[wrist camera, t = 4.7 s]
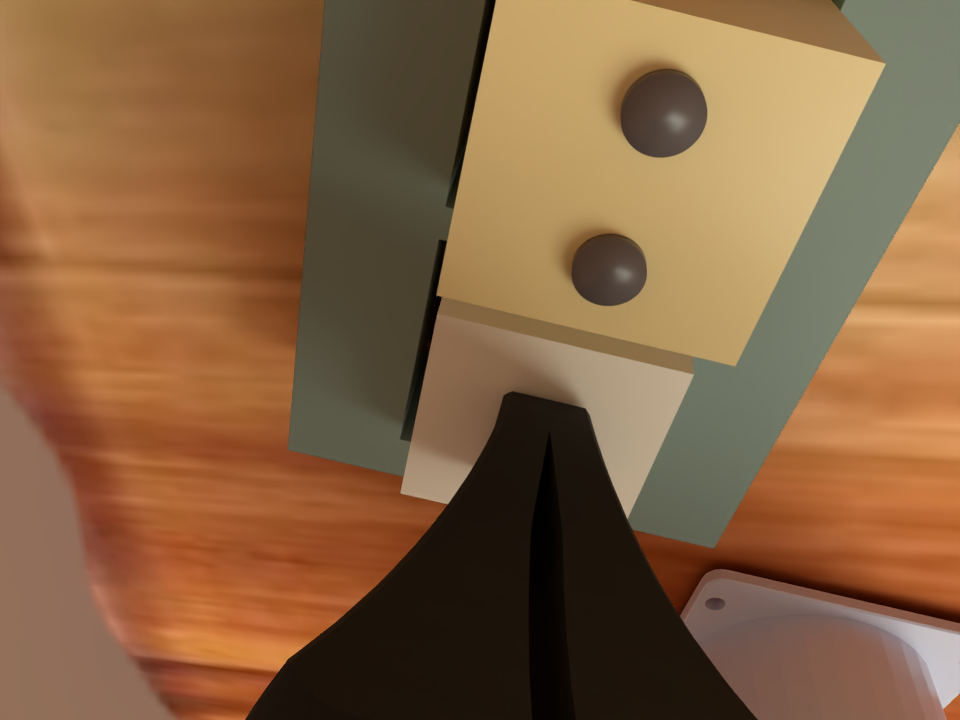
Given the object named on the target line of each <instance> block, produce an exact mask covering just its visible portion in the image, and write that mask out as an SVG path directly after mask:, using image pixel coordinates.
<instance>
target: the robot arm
mask: <svg viewBox="0 0 960 720" xmlns="http://www.w3.org/2000/svg"><path fill="white" fill-rule="evenodd" d="M959 693H960V623H956V622H952V621H947V620H943V619H939V618H934V617H930V616H926V615H921V614H917V613H913V612H908V611H904V610H900V609H895V608H891V607H887V606H882V605H878V604H874V603H870V602H865V601H861V600H857V599H852V598H848V597H844V596H839V595H835V594H831V593H826V592H822V591H818V590H813V589H809V588H805V587H800V586H796V585H792V584H787V583H783V582H779V581H774V580H770V579H766V578H761V577H757V576H753V575H748V574H744V573H740V572H735V571H731V570H726V569H716V570H712V571H710V572H708V573H706V574H705V575H704V576H703V577H702V579H701V581H700V582H699V584H698V586H697V588H696V589H695V591H694V593H693V594H692V596H691V598H690V600H689V601H688V603H687V605H686V606H685V608H684V610H683V612H682V613H681V615H680V616H679V614H678V613H677V611H676V610H675V608H674V606H673V605H672V603H671V601H670V600H669V598H668V596H667V595H666V593H665V591H664V590H663V588H662V586H661V584H660V583H659V581H658V579H657V577H656V575H655V574H654V572H653V570H652V568H651V566H650V564H649V562H648V561H647V559H646V557H645V555H644V553H643V551H642V549H641V547H640V545H639V543H638V541H637V539H636V537H635V535H634V532H633V530H632V528H631V526H630V524H629V521H628V519H627V517H626V515H625V512H624V510H623V508H622V505H621V503H620V500H619V498H618V496H617V493H616V491H615V488H614V486H613V484H612V481H611V478H610V476H609V473H608V470H607V468H606V465H605V462H604V459H603V456H602V453H601V450H600V447H599V444H598V441H597V438H596V435H595V432H594V428H593V425H592V421H591V417H590V415H589V413H588V411H587V410H586V408H582V407H578V406H574V405H570V404H565V403H561V402H557V401H552V400H548V399H544V398H540V397H535V396H531V395H527V394H523V393H518V392H514V391H511V392H509V393H507V394H504V396H503V399H502V403H501V406H500V410H499V413H498V417H497V420H496V423H495V427H494V429H493V431H492V433H491V435H490V437H489V439H488V441H487V443H486V445H485V447H484V449H483V450H482V452H481V454H480V456H479V457H478V459H477V461H476V462H475V464H474V466H473V468H472V469H471V471H470V473H469V474H468V476H467V477H466V479H465V480H464V482H463V483H462V485H461V486H460V488H459V489H458V490H457V492H456V493H455V495H454V496H453V498H452V499H451V500H450V502H449V503H448V505H447V506H446V508H445V509H444V510H443V512H442V513H441V514H440V515H439V517H438V518H437V519H436V521H435V522H434V523H433V524H432V526H431V527H430V528H429V529H428V531H427V532H426V533H425V534H424V535H423V536H422V538H421V539H420V540H419V541H418V542H417V544H416V545H415V546H414V547H413V548H412V549H411V550H410V551H409V552H408V554H407V555H406V556H405V557H404V558H403V559H402V560H401V561H400V562H399V563H398V564H397V565H396V566H395V567H394V569H393V570H392V571H391V572H390V573H389V574H388V575H387V576H386V577H385V578H384V579H383V580H382V581H381V582H380V583H379V584H378V585H377V586H376V587H375V588H373V589H372V590H371V591H370V592H369V593H368V594H367V595H366V596H365V597H364V598H362V599H361V600H360V601H359V602H358V603H357V604H356V605H355V606H354V607H352V608H351V609H350V610H349V611H348V612H347V613H346V614H345V615H344V616H342V617H341V618H340V619H339V620H338V621H337V622H335V623H334V624H333V625H332V626H331V627H329V628H328V629H327V630H325V631H324V632H323V633H322V634H320V635H319V636H318V637H316V638H315V639H314V640H312V641H311V642H310V643H309V644H307V645H306V646H305V647H303V648H302V649H301V650H299V651H298V652H297V653H296V654H294V655H293V656H292V657H290V658H289V659H288V660H287V661H286V663H285V664H284V666H283V667H282V668H281V669H280V671H279V672H278V673H277V675H276V676H275V677H274V679H273V680H272V681H271V683H270V684H269V685H268V687H267V688H266V689H265V691H264V692H263V694H262V695H261V697H260V698H259V699H258V701H257V702H256V704H255V705H254V707H253V708H252V710H251V711H250V713H249V715H248V716H247V718H246V720H947V719H946V716H945V713H944V711H943V709H944V708H945V707H946V706H947V705H948V704H949V703H950V702H951V701H952V700H953V699H954V698H955V697H956V696H957V695H958V694H959Z"/></svg>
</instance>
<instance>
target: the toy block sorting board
mask: <svg viewBox="0 0 960 720" xmlns="http://www.w3.org/2000/svg"><path fill="white" fill-rule="evenodd" d="M831 1H832V2H833V3H834V4H835V5H836V6H837V8H838V9H839V10H840V11H841V12H842V13H843V15H844V16H845V17H846V18H847V19H848V20H849V21H850V23H851V24H852V25H853V26H854V27H855V28H856V30H857V31H858V32H859V33H860V34H861V35H862V36H863V38H864V39H865V40H866V41H867V42H868V43H869V45H870V46H871V47H872V48H873V49H874V50H875V51H876V53H877V54H878V55H879V56H880V57H881V58H882V60H883V61H884V62H885V63H886V65H885V67H884V69H883V71H882V73H881V75H880V77H879V79H878V81H877V83H876V85H875V87H874V89H873V91H872V93H871V95H870V97H869V99H868V101H867V103H866V105H865V107H864V109H863V111H862V113H861V115H860V117H859V119H858V121H857V123H856V125H855V127H854V129H853V131H852V133H851V135H850V137H849V139H848V141H847V143H846V145H845V147H844V149H843V151H842V153H841V155H840V157H839V159H838V161H837V163H836V165H835V167H834V169H833V171H832V173H831V175H830V177H829V179H828V181H827V183H826V185H825V187H824V189H823V191H822V193H821V195H820V197H819V199H818V201H817V203H816V205H815V207H814V209H813V211H812V213H811V215H810V217H809V220H808V222H807V224H806V226H805V228H804V230H803V232H802V234H801V236H800V238H799V240H798V242H797V244H796V246H795V248H794V250H793V252H792V254H791V256H790V258H789V260H788V262H787V264H786V266H785V268H784V270H783V272H782V274H781V276H780V278H779V280H778V282H777V284H776V286H775V288H774V290H773V292H772V294H771V296H770V298H769V300H768V302H767V304H766V306H765V308H764V310H763V312H762V314H761V316H760V318H759V320H758V322H757V324H756V326H755V328H754V330H753V332H752V334H751V336H750V338H749V340H748V342H747V344H746V346H745V348H744V350H743V352H742V354H741V356H740V358H739V360H738V362H737V364H736V366H731V365H727V364H723V363H719V362H714V361H710V360H706V359H702V358H698V357H693V356H692V362H693V370H694V376H693V378H692V381H691V383H690V385H689V387H688V389H687V391H686V394H685V396H684V398H683V400H682V402H681V404H680V406H679V409H678V411H677V413H676V415H675V417H674V419H673V422H672V424H671V426H670V428H669V430H668V432H667V435H666V437H665V439H664V441H663V443H662V445H661V448H660V450H659V452H658V454H657V456H656V458H655V461H654V463H653V465H652V467H651V469H650V471H649V473H648V476H647V478H646V480H645V482H644V484H643V486H642V489H641V491H640V493H639V495H638V497H637V499H636V502H635V504H634V506H633V508H632V510H631V512H630V515H629V517H628V521H629V524H630V526H631V528H632V530H635V531H640V532H644V533H648V534H653V535H657V536H661V537H666V538H670V539H674V540H679V541H683V542H687V543H691V544H696V545H700V546H704V547H709V548H713V549H714V548H715V546H716V544H717V542H718V541H719V539H720V537H721V536H722V534H723V532H724V530H725V529H726V527H727V525H728V523H729V522H730V520H731V518H732V516H733V515H734V513H735V511H736V510H737V508H738V506H739V504H740V503H741V501H742V499H743V497H744V496H745V494H746V492H747V490H748V489H749V487H750V485H751V484H752V482H753V480H754V478H755V477H756V475H757V473H758V471H759V470H760V468H761V466H762V464H763V463H764V461H765V459H766V457H767V456H768V454H769V452H770V451H771V449H772V447H773V445H774V444H775V442H776V440H777V438H778V437H779V435H780V433H781V431H782V430H783V428H784V426H785V425H786V423H787V421H788V419H789V418H790V416H791V414H792V412H793V411H794V409H795V407H796V405H797V404H798V402H799V400H800V399H801V397H802V395H803V393H804V392H805V390H806V388H807V386H808V385H809V383H810V381H811V379H812V378H813V376H814V374H815V373H816V371H817V369H818V367H819V366H820V364H821V362H822V360H823V359H824V357H825V355H826V353H827V352H828V350H829V348H830V346H831V345H832V343H833V341H834V340H835V338H836V336H837V334H838V333H839V331H840V329H841V327H842V326H843V324H844V322H845V320H846V319H847V317H848V315H849V314H850V312H851V310H852V308H853V307H854V305H855V303H856V301H857V300H858V298H859V296H860V294H861V293H862V291H863V289H864V288H865V286H866V284H867V282H868V281H869V279H870V277H871V275H872V274H873V272H874V270H875V268H876V267H877V265H878V263H879V262H880V260H881V258H882V256H883V255H884V253H885V251H886V249H887V248H888V246H889V244H890V242H891V241H892V239H893V237H894V235H895V234H896V232H897V230H898V229H899V227H900V225H901V223H902V222H903V220H904V218H905V216H906V215H907V213H908V211H909V209H910V208H911V206H912V204H913V203H914V201H915V199H916V197H917V196H918V194H919V192H920V190H921V189H922V187H923V185H924V183H925V182H926V180H927V178H928V177H929V175H930V173H931V171H932V170H933V168H934V166H935V164H936V163H937V161H938V159H939V157H940V156H941V154H942V152H943V151H944V149H945V147H946V145H947V144H948V142H949V140H950V138H951V137H952V135H953V133H954V131H955V130H956V128H957V126H958V124H959V123H960V0H831ZM495 3H496V0H325V6H324V18H323V30H322V42H321V54H320V67H319V79H318V91H317V103H316V115H315V127H314V139H313V151H312V163H311V175H310V188H309V200H308V212H307V224H306V236H305V248H304V260H303V272H302V284H301V297H300V309H299V321H298V333H297V345H296V357H295V369H294V381H293V393H292V405H291V418H290V430H289V442H288V450H290V451H294V452H299V453H303V454H307V455H312V456H316V457H320V458H325V459H329V460H333V461H338V462H342V463H346V464H350V465H355V466H359V467H363V468H368V469H372V470H376V471H381V472H385V473H389V474H394V475H398V476H402V477H404V473H405V468H406V463H407V458H408V453H409V449H410V444H411V439H412V434H413V429H414V424H415V420H416V415H417V410H418V405H419V400H420V395H421V391H422V386H423V381H424V376H425V371H426V366H427V361H428V357H429V351H426V347H427V342H428V338H429V333H430V328H431V323H432V318H433V313H434V308H435V303H436V298H437V296H436V295H437V290H438V285H439V280H440V275H441V270H442V265H443V260H444V255H445V250H446V245H447V240H448V235H449V230H450V225H451V221H452V216H453V211H454V206H455V201H456V196H457V191H458V186H459V181H460V176H461V171H462V166H463V161H464V156H465V151H466V146H467V142H468V137H469V132H470V127H471V122H472V117H473V112H474V107H475V102H476V97H477V92H478V87H479V82H480V77H481V72H482V67H483V63H484V58H485V53H486V48H487V43H488V38H489V33H490V28H491V23H492V18H493V13H494V8H495Z"/></svg>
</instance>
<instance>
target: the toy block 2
mask: <svg viewBox="0 0 960 720" xmlns="http://www.w3.org/2000/svg"><path fill="white" fill-rule="evenodd" d="M693 376H694V370H693V362H692V356H689V355H685V354H681V353H677V352H672V351H668V350H664V349H660V348H655V347H651V346H647V345H643V344H639V343H634V342H630V341H626V340H622V339H618V338H613V337H609V336H605V335H601V334H596V333H592V332H588V331H584V330H580V329H575V328H571V327H567V326H563V325H559V324H554V323H550V322H546V321H542V320H538V319H533V318H529V317H525V316H521V315H516V314H512V313H508V312H504V311H500V310H495V309H491V308H487V307H483V306H479V305H474V304H470V303H466V302H462V301H457V300H453V299H449V298H445V297H442V300H441V303H440V306H439V310H438V313H437V318H436V323H435V328H434V332H433V337H432V342H431V347H430V352H429V357H428V361H427V366H426V371H425V376H424V381H423V386H422V391H421V395H420V400H419V405H418V410H417V415H416V420H415V424H414V429H413V434H412V439H411V444H410V449H409V453H408V458H407V463H406V468H405V473H404V478H403V482H402V487H401V492H400V493H401V494H405V495H409V496H414V497H418V498H422V499H427V500H431V501H435V502H440V503H444V504H448V503H449V502H450V500H451V499H452V498H453V496H454V495H455V493H456V492H457V490H458V489H459V488H460V486H461V485H462V483H463V482H464V480H465V479H466V477H467V476H468V474H469V473H470V471H471V469H472V468H473V466H474V464H475V462H476V461H477V459H478V457H479V456H480V454H481V452H482V450H483V449H484V447H485V445H486V443H487V441H488V439H489V437H490V435H491V433H492V431H493V429H494V427H495V423H496V420H497V417H498V413H499V410H500V406H501V403H502V399H503V396H504V394H507V393H509V392H511V391H514V392H518V393H523V394H527V395H531V396H535V397H540V398H544V399H548V400H552V401H557V402H561V403H565V404H570V405H574V406H578V407H582V408H586V410H587V411H588V413H589V415H590V417H591V421H592V425H593V428H594V432H595V435H596V438H597V441H598V444H599V447H600V450H601V453H602V456H603V459H604V462H605V465H606V468H607V470H608V473H609V476H610V478H611V481H612V484H613V486H614V488H615V491H616V493H617V496H618V498H619V500H620V503H621V505H622V508H623V510H624V512H625V515H626V517H627V519H628V517H629V515H630V512H631V510H632V508H633V506H634V504H635V502H636V499H637V497H638V495H639V493H640V491H641V489H642V486H643V484H644V482H645V480H646V478H647V476H648V473H649V471H650V469H651V467H652V465H653V463H654V461H655V458H656V456H657V454H658V452H659V450H660V448H661V445H662V443H663V441H664V439H665V437H666V435H667V432H668V430H669V428H670V426H671V424H672V422H673V419H674V417H675V415H676V413H677V411H678V409H679V406H680V404H681V402H682V400H683V398H684V396H685V394H686V391H687V389H688V387H689V385H690V383H691V381H692V378H693Z"/></svg>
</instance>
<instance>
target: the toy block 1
mask: <svg viewBox="0 0 960 720" xmlns="http://www.w3.org/2000/svg"><path fill="white" fill-rule="evenodd" d="M885 65H886V63H885V62H884V61H883V60H882V58H881V57H880V56H879V55H878V54H877V53H876V51H875V50H874V49H873V48H872V47H871V46H870V45H869V43H868V42H867V41H866V40H865V39H864V38H863V36H862V35H861V34H860V33H859V32H858V31H857V30H856V28H855V27H854V26H853V25H852V24H851V23H850V21H849V20H848V19H847V18H846V17H845V16H844V15H843V13H842V12H841V11H840V10H839V9H838V8H837V6H836V5H835V4H834V3H833V2H832V1H831V0H496V3H495V8H494V13H493V18H492V23H491V28H490V33H489V38H488V43H487V48H486V53H485V58H484V63H483V67H482V72H481V77H480V82H479V87H478V92H477V97H476V102H475V107H474V112H473V117H472V122H471V127H470V132H469V137H468V142H467V146H466V151H465V156H464V161H463V166H462V171H461V176H460V181H459V186H458V191H457V196H456V201H455V206H454V211H453V216H452V221H451V225H450V230H449V235H448V240H447V245H446V250H445V255H444V260H443V265H442V270H441V275H440V280H439V285H438V290H437V295H436V296H441V297H445V298H449V299H453V300H457V301H462V302H466V303H470V304H474V305H479V306H483V307H487V308H491V309H495V310H500V311H504V312H508V313H512V314H516V315H521V316H525V317H529V318H533V319H538V320H542V321H546V322H550V323H554V324H559V325H563V326H567V327H571V328H575V329H580V330H584V331H588V332H592V333H596V334H601V335H605V336H609V337H613V338H618V339H622V340H626V341H630V342H634V343H639V344H643V345H647V346H651V347H655V348H660V349H664V350H668V351H672V352H677V353H681V354H685V355H689V356H693V357H698V358H702V359H706V360H710V361H714V362H719V363H723V364H727V365H731V366H736V364H737V362H738V360H739V358H740V356H741V354H742V352H743V350H744V348H745V346H746V344H747V342H748V340H749V338H750V336H751V334H752V332H753V330H754V328H755V326H756V324H757V322H758V320H759V318H760V316H761V314H762V312H763V310H764V308H765V306H766V304H767V302H768V300H769V298H770V296H771V294H772V292H773V290H774V288H775V286H776V284H777V282H778V280H779V278H780V276H781V274H782V272H783V270H784V268H785V266H786V264H787V262H788V260H789V258H790V256H791V254H792V252H793V250H794V248H795V246H796V244H797V242H798V240H799V238H800V236H801V234H802V232H803V230H804V228H805V226H806V224H807V222H808V220H809V217H810V215H811V213H812V211H813V209H814V207H815V205H816V203H817V201H818V199H819V197H820V195H821V193H822V191H823V189H824V187H825V185H826V183H827V181H828V179H829V177H830V175H831V173H832V171H833V169H834V167H835V165H836V163H837V161H838V159H839V157H840V155H841V153H842V151H843V149H844V147H845V145H846V143H847V141H848V139H849V137H850V135H851V133H852V131H853V129H854V127H855V125H856V123H857V121H858V119H859V117H860V115H861V113H862V111H863V109H864V107H865V105H866V103H867V101H868V99H869V97H870V95H871V93H872V91H873V89H874V87H875V85H876V83H877V81H878V79H879V77H880V75H881V73H882V71H883V69H884V67H885Z"/></svg>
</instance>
